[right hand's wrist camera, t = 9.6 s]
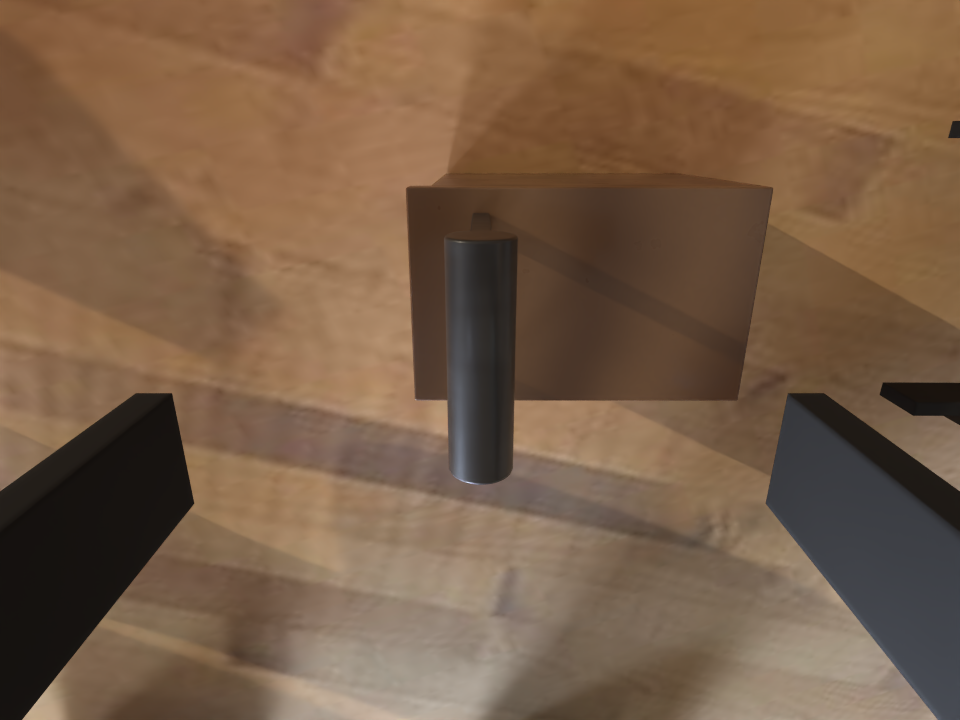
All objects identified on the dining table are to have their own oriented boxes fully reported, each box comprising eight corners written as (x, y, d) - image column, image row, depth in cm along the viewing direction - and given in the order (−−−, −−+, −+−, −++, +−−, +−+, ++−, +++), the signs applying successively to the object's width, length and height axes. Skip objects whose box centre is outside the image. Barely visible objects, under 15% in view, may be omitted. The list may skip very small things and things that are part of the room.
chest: (448, 325, 37) (436, 391, 27) (445, 173, 34) (430, 185, 24) (662, 325, 37) (728, 391, 27) (680, 173, 34) (762, 185, 24)
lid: (417, 392, 27) (386, 508, 18) (408, 185, 24) (367, 208, 15) (729, 392, 27) (845, 508, 18) (762, 185, 24) (923, 208, 15)
